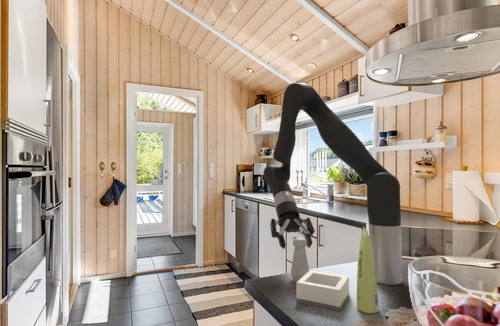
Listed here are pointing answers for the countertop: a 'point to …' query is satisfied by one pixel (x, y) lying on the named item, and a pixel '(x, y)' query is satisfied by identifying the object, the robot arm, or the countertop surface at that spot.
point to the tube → (366, 276)
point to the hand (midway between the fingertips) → (297, 246)
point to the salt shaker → (299, 259)
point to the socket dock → (323, 290)
